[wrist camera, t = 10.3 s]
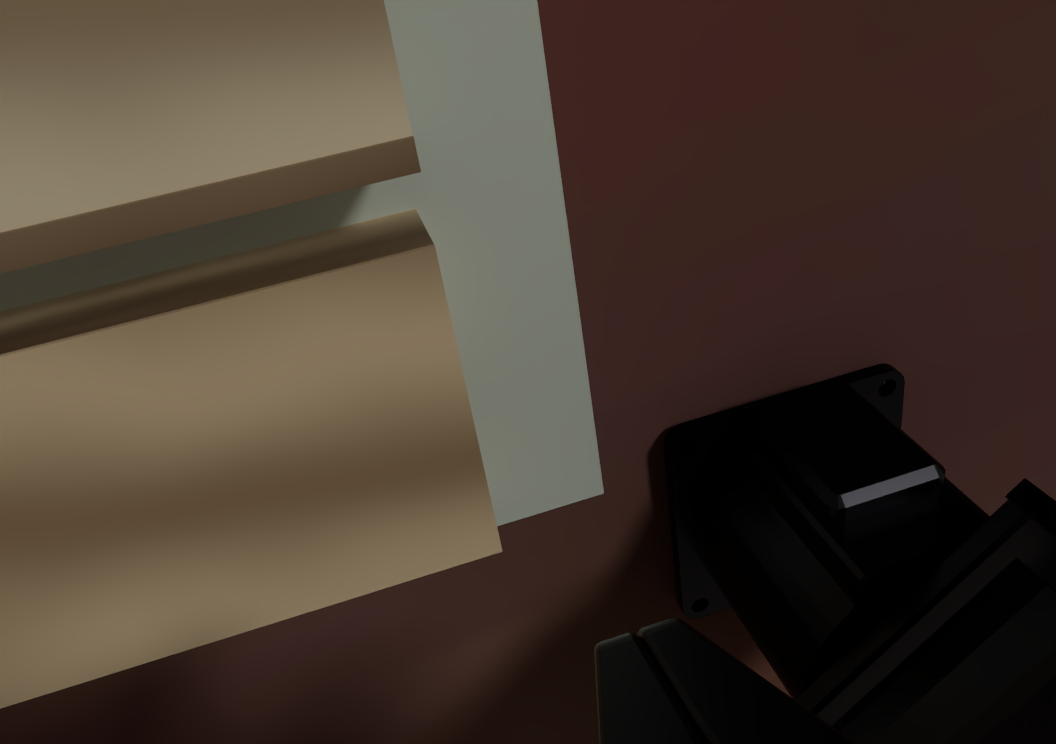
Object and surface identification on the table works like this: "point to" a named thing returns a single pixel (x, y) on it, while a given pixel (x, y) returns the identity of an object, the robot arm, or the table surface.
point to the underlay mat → (447, 242)
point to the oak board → (229, 450)
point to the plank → (186, 115)
